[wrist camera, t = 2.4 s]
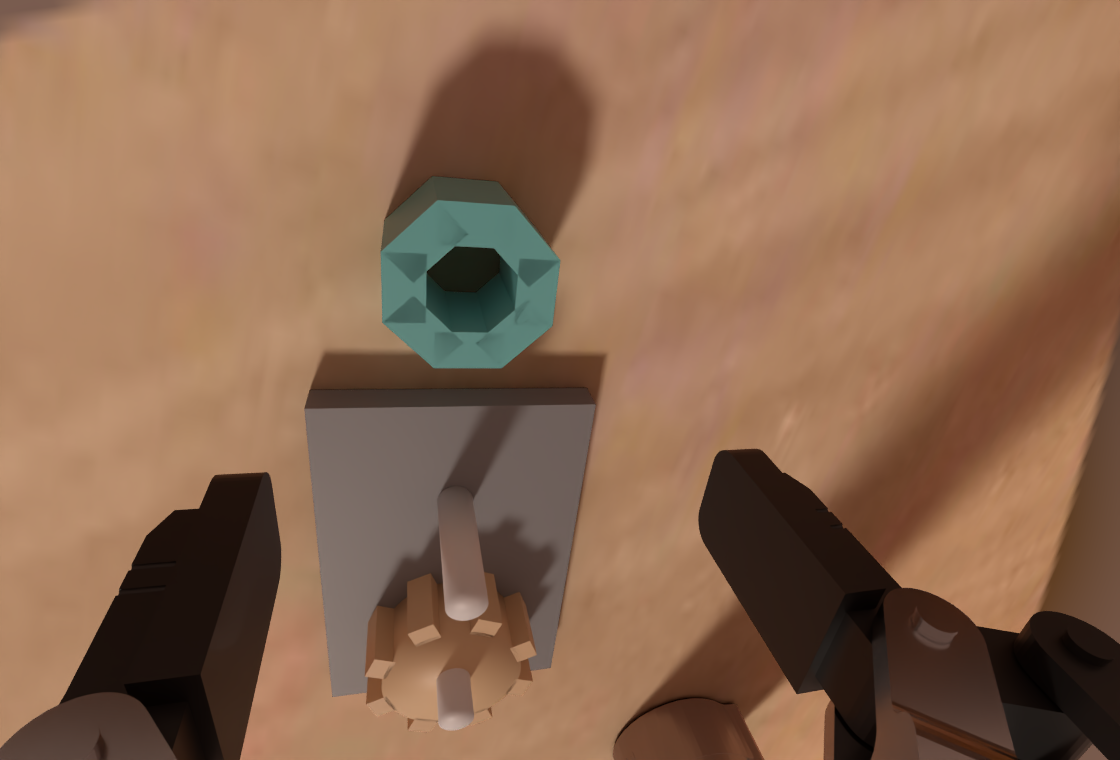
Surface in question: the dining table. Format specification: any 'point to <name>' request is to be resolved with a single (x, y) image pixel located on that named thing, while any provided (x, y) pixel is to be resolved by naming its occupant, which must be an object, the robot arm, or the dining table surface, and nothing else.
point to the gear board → (402, 484)
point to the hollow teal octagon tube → (466, 317)
